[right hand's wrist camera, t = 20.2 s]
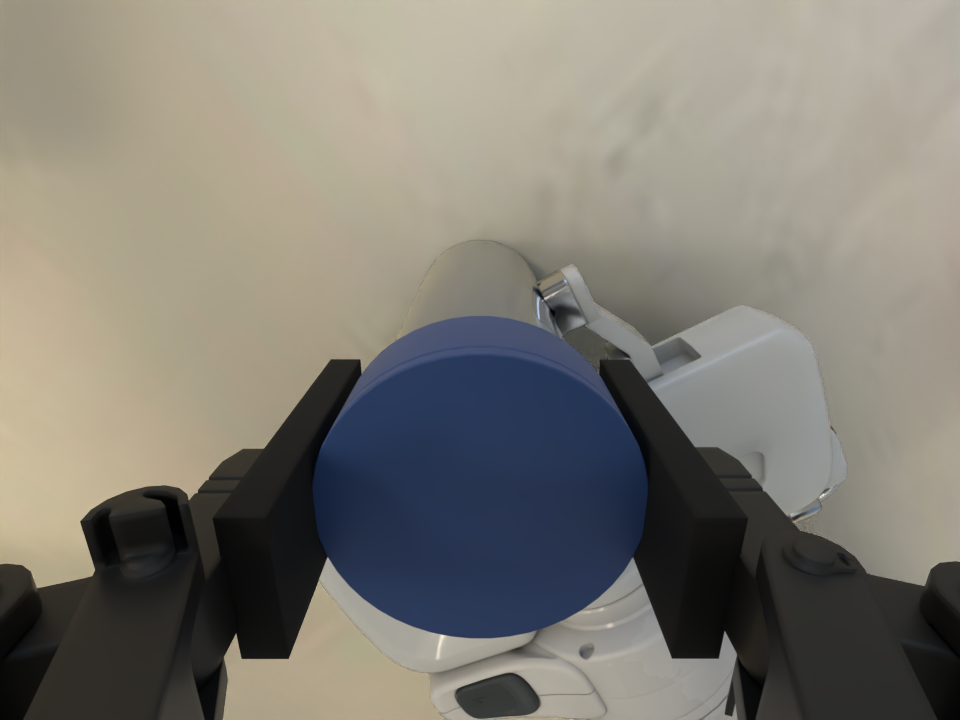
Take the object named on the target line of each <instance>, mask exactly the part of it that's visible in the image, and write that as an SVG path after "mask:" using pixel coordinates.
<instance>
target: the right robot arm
mask: <svg viewBox="0 0 960 720" xmlns="http://www.w3.org/2000/svg"><path fill="white" fill-rule="evenodd" d="M361 375H362V374H361V362H360V359H331V360H330V361H329V363H328V364H327V365H326V367H325V368H324V370H323V371H322V372H321V374H320V375H319V376H318V378H317V379H316V380H315V382H314V383H313V384H312V386H311V387H310V388H309V390H308V391H307V392H306V394H305V395H304V396H303V398H302V399H301V400H300V402H299V403H298V404H297V406H296V407H295V408H294V410H293V411H292V412H291V414H290V415H289V416H288V418H287V419H286V420H285V422H284V423H283V424H282V426H281V427H280V428H279V430H278V431H277V432H276V434H275V435H274V436H273V438H272V439H271V440H270V442H269V443H268V444H267V446H266V447H265V448H264V449H242V450H241V451H239V452H237V453H236V454H234V455H233V456H231V457H229V458H228V459H226V460H224V461H223V462H222V463H221V464H220V465H219V466H218V467H217V469H216V470H215V471H214V472H213V473H212V474H211V476H210V477H209V480H206V481H205V483H204V484H203V485H202V486H201V487H200V488H199V490H198V493H195V494H194V495H193V497H192V498H191V499H190V500H188V496H187V494H186V493H185V492H183V491H182V490H181V489H180V488H176V487H170V486H150V487H144V488H139V489H135V490H131V491H127V492H125V493H122V494H120V495H117V496H115V497H112V498H110V499H108V500H106V501H104V502H103V503H101V504H100V505H98V506H96V507H95V508H93V509H92V510H90V512H89V513H88V514H87V515H86V516H85V517H84V518H83V519H82V520H81V521H80V522H81V526H82V529H83V532H84V535H85V538H86V541H87V545H88V548H89V551H90V554H91V557H92V561H93V564H94V567H95V572H94V574H93V576H92V577H88V578H84V579H80V580H75V581H70V582H65V583H61V584H56V585H51V586H47V587H42V588H37V587H36V585H35V582H34V579H33V577H32V574H31V571H29V570H28V569H26V568H25V567H24V566H22V565H14V564H1V565H0V720H223V713H224V705H225V697H226V689H227V681H228V679H227V671H226V665H225V661H224V655H225V654H226V652H227V650H228V648H229V646H230V644H231V642H232V640H233V638H234V636H235V634H237V638H238V643H239V648H240V653H241V658H242V659H289V656H290V654H291V651H292V649H293V646H294V643H295V641H296V638H297V636H298V633H299V630H300V628H301V625H302V623H303V620H304V617H305V615H306V612H307V609H308V607H309V604H310V602H311V599H312V596H313V594H314V591H315V589H316V586H317V583H318V581H319V578H320V576H321V573H322V570H323V568H324V565H325V563H326V560H327V555H326V553H325V551H324V548H323V546H322V544H321V542H320V540H319V536H318V530H317V523H316V515H315V507H314V500H313V490H312V480H313V474H314V469H315V464H316V461H317V458H318V455H319V452H320V449H321V447H322V444H323V442H324V441H325V439H326V437H327V435H328V433H329V431H330V429H331V428H332V426H333V424H334V422H335V420H336V419H337V417H338V415H339V413H340V411H341V410H342V408H343V406H344V404H345V402H346V401H347V399H348V397H349V395H350V393H351V392H352V390H353V388H354V386H355V384H356V383H357V381H358V379H359V378H360V376H361ZM599 375H600V377H601V378H602V380H603V382H604V383H605V385H606V387H607V389H608V391H609V392H610V394H611V396H612V398H613V400H614V401H615V403H616V405H617V407H618V408H619V410H620V412H621V414H622V416H623V418H624V419H625V421H626V423H627V425H628V426H629V428H630V430H631V432H632V434H633V436H634V438H635V439H636V441H637V443H638V445H639V448H640V450H641V453H642V456H643V459H644V462H645V465H646V471H647V476H648V481H649V488H648V497H647V505H646V513H645V520H644V528H643V534H642V539H641V541H640V543H639V546H638V548H637V550H636V552H635V554H634V556H633V559H634V561H635V564H636V566H637V569H638V572H639V574H640V577H641V579H642V582H643V585H644V587H645V590H646V592H647V595H648V598H649V600H650V603H651V605H652V608H653V611H654V613H655V616H656V618H657V621H658V624H659V626H660V629H661V631H662V634H663V637H664V639H665V642H666V644H667V647H668V650H669V652H670V655H671V658H672V659H719V656H720V651H721V646H722V641H723V636H724V632H726V634H727V636H728V638H729V640H730V642H731V644H732V646H733V648H734V650H735V651H736V653H737V656H736V661H735V665H734V670H733V674H732V679H731V683H730V688H729V692H728V696H727V701H726V707H725V715H728V716H731V717H732V715H733V711H734V707H735V704H736V711H737V719H738V720H960V562H956V561H955V562H945V563H939V564H938V565H936V566H935V567H933V568H932V569H931V571H930V573H929V576H928V579H927V582H926V584H925V586H921V585H916V584H911V583H906V582H902V581H897V580H892V579H888V578H883V577H878V576H874V575H870V574H867V573H866V571H865V569H864V568H863V567H862V565H861V564H860V563H859V561H858V560H857V559H856V558H855V557H854V556H853V555H852V554H850V553H849V552H848V551H846V550H845V549H844V548H842V547H841V546H840V545H837V544H835V543H833V542H831V541H829V540H827V539H825V538H823V537H820V536H817V535H813V534H810V533H806V532H802V531H799V529H798V528H797V527H796V526H795V525H794V524H793V522H792V521H791V520H790V519H789V518H788V517H787V516H786V514H785V513H784V512H783V511H782V510H781V509H780V507H779V506H778V505H777V504H776V503H775V502H774V500H773V499H772V498H771V497H770V496H769V495H768V493H767V492H766V491H763V488H762V486H761V485H760V484H759V483H758V482H757V481H756V480H755V478H752V475H751V474H750V473H749V471H748V470H747V469H746V468H745V467H744V466H743V464H742V463H741V462H740V461H739V460H738V459H736V458H734V457H733V456H731V455H730V454H728V453H726V452H725V451H723V450H721V449H720V448H718V447H695V446H694V445H693V444H692V442H691V441H690V440H689V438H688V437H687V436H686V434H685V433H684V432H683V430H682V429H681V428H680V426H679V425H678V424H677V422H676V421H675V420H674V418H673V417H672V416H671V414H670V413H669V412H668V410H667V409H666V407H665V406H664V405H663V403H662V402H661V401H660V399H659V398H658V397H657V395H656V394H655V393H654V391H653V390H652V389H651V387H650V386H649V385H648V383H647V382H646V381H645V379H644V378H643V377H642V375H641V374H640V373H639V371H638V370H637V369H636V367H635V366H634V365H633V363H632V362H631V361H630V359H600V369H599Z"/></svg>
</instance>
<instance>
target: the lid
mask: <svg viewBox="0 0 960 720" xmlns="http://www.w3.org/2000/svg"><path fill="white" fill-rule="evenodd" d="M648 488H649V481H648V476H647V471H646V465H645V462H644V459H643V456H642V453H641V450H640V448H639V445H638V443H637V441H636V439H635V438H634V436H633V434H632V432H631V430H630V428H629V426H628V425H627V423H626V421H625V419H624V418H623V416H622V414H621V412H620V410H619V408H618V407H617V405H616V403H615V401H614V400H613V398H612V396H611V394H610V392H609V391H608V389H607V387H606V385H605V383H604V382H603V380H602V378H601V377H600V375H599V374H598V373H597V371H596V370H595V369H594V367H593V366H592V365H591V363H590V362H589V361H588V360H587V359H586V358H585V357H584V356H583V355H582V354H581V353H580V352H579V351H577V350H576V349H575V348H573V347H572V346H571V345H570V344H568V343H567V342H566V341H564V340H563V339H561V338H559V337H557V336H556V335H554V334H552V333H550V332H549V331H547V330H544V329H542V328H539V327H537V326H534V325H532V324H529V323H526V322H522V321H518V320H514V319H510V318H503V317H495V316H466V317H458V318H450V319H447V320H443V321H439V322H435V323H431V324H429V325H426V326H424V327H421V328H419V329H416V330H414V331H412V332H410V333H409V334H407V335H405V336H403V337H401V338H400V339H398V340H396V341H395V342H394V343H392V344H391V345H390V346H389V347H387V348H386V349H385V350H383V351H382V352H381V353H380V354H379V355H378V356H377V357H376V358H375V359H374V360H373V361H372V362H371V363H370V364H369V365H368V367H367V368H366V369H365V371H364V372H363V374H362V375H361V376H360V378H359V379H358V381H357V383H356V384H355V386H354V388H353V390H352V392H351V393H350V395H349V397H348V399H347V401H346V402H345V404H344V406H343V408H342V410H341V411H340V413H339V415H338V417H337V419H336V420H335V422H334V424H333V426H332V428H331V429H330V431H329V433H328V435H327V437H326V439H325V441H324V442H323V444H322V447H321V449H320V452H319V455H318V458H317V461H316V464H315V469H314V474H313V480H312V490H313V500H314V507H315V515H316V523H317V530H318V536H319V540H320V542H321V544H322V546H323V548H324V551H325V553H326V555H327V557H328V558H329V560H330V561H331V563H332V565H333V566H334V568H335V569H336V571H337V572H338V573H339V575H340V576H341V577H342V578H343V579H344V580H345V582H346V583H347V584H348V585H349V586H350V587H351V588H352V589H353V590H354V591H355V592H356V593H357V594H358V595H359V596H361V597H362V598H363V599H364V600H366V601H367V602H368V603H370V604H371V605H372V606H374V607H375V608H377V609H378V610H380V611H381V612H383V613H385V614H387V615H388V616H390V617H392V618H394V619H396V620H398V621H400V622H403V623H405V624H407V625H410V626H412V627H415V628H418V629H421V630H425V631H428V632H431V633H436V634H441V635H446V636H451V637H461V638H500V637H510V636H515V635H520V634H525V633H530V632H533V631H536V630H539V629H543V628H546V627H549V626H551V625H553V624H556V623H558V622H560V621H563V620H565V619H567V618H569V617H571V616H572V615H574V614H576V613H578V612H579V611H581V610H583V609H584V608H586V607H587V606H588V605H590V604H591V603H593V602H594V601H595V600H597V599H598V598H599V597H600V596H601V595H602V594H603V593H605V592H606V591H607V590H608V589H609V588H610V587H611V586H612V585H613V584H614V583H615V581H616V580H617V579H618V578H619V577H620V575H621V574H622V573H623V572H624V570H625V569H626V567H627V566H628V564H629V563H630V561H631V559H632V558H633V556H634V554H635V552H636V550H637V548H638V546H639V543H640V541H641V539H642V534H643V528H644V520H645V513H646V505H647V497H648Z"/></svg>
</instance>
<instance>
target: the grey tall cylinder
mask: <svg viewBox="0 0 960 720" xmlns="http://www.w3.org/2000/svg"><path fill="white" fill-rule="evenodd" d="M536 282H537V279H536V277H535V275H534V273H533V271H532V269H531V268H530V266H529V265H528V263H527V262H526V261H525V260H524V259H523V258H522V256H520V255H519V254H518V253H517V252H516V251H514V250H513V249H511V248H509V247H508V246H505V245H503V244H501V243H497V242H494V241H488V240H473V241H467V242H463V243H460V244H458V245H455V246H453V247H451V248H450V249H448V250H446V251H445V252H444V253H442V254H441V255H440V256H439V257H438V258H437V259H436V260H435V262H434V263H433V264H432V265H431V267H430V269H429V271H428V272H427V274H426V276H425V279H424V281H423V283H422V285H421V287H420V289H419V291H418V293H417V296H416V298H415V300H414V302H413V304H412V306H411V308H410V310H409V312H408V315H407V317H406V319H405V321H404V323H403V325H402V327H401V329H400V332H399V334H398V336H397V338H396V340H398V339H400V338H401V337H403V336H405V335H407V334H409V333H410V332H412V331H414V330H416V329H419V328H421V327H424V326H426V325H429V324H431V323H435V322H439V321H443V320H447V319H450V318H458V317H466V316H495V317H503V318H510V319H514V320H518V321H522V322H526V323H529V324H532V325H534V326H537V327H539V328H542V329H544V330H547V331H549V332H550V333H552V334H554V335H556V336H557V337H559V338H561V339H563V340H564V341H565V339H564V337H563V335H562V332H561V330H560V328H559V326H558V324H557V322H556V320H555V318H554V315H553V313H552V311H551V309H550V308H549V306H548V305H547V304H546V302H545V300H544V298H543V296H542V294H541V292H540V290H539V288H538V286H537V284H536ZM396 340H395V341H396Z"/></svg>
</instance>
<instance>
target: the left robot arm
mask: <svg viewBox="0 0 960 720" xmlns="http://www.w3.org/2000/svg"><path fill="white" fill-rule="evenodd" d="M536 284H537V286H538V288H539V290H540V292H541V294H542V296H543V298H544V300H545V302H546V304H547V305H548V306H549V308H550V309H551V311H552V313H553V315H554V318H555V320H556V322H557V324H558V326H559V328H560V330H561V332H562V335H564V334H566V333H568V332H570V331H572V330H574V329H576V328H579V327H581V326H583V325H584V326H585V327H586V328H588V329H589V330H591V331H592V332H594V333H596V334H597V335H599V336H600V337H602V338H603V339H605V340H606V341H608V342H606V343H604V345H603V348H604V350H605V353H606V355H607V357H608V359H630V361H631V362H632V363H633V365H634V366H635V367H636V369H637V370H638V371H639V373H640V374H641V375H642V377H643V378H644V379H645V381H646V382H647V383H648V385H649V386H650V387H651V389H652V390H653V391H654V393H655V394H656V395H657V397H658V398H659V399H660V401H661V402H662V403H663V405H664V406H665V407H666V409H667V410H668V412H669V413H670V414H671V416H672V417H673V418H674V420H675V421H676V422H677V424H678V425H679V426H680V428H681V429H682V430H683V432H684V433H685V434H686V436H687V437H688V438H689V440H690V441H691V442H692V444H693V445H694V446H695V447H718V448H720V449H721V450H723V451H725V452H726V453H728V454H730V455H731V456H733V457H734V458H736V459H738V460H739V461H740V462H741V463H742V464H743V466H744V467H745V468H746V469H747V470H748V471H749V473H750V474H751V475H752V478H755V480H756V481H757V482H758V483H759V484H760V485H761V486H762V488H763V491H766V492H767V493H768V495H769V496H770V497H771V498H772V499H773V500H774V502H775V503H776V504H777V505H778V506H779V507H780V509H781V510H782V511H783V512H784V513H785V514H786V516H787V517H788V518H789V519H790V520H791V521H792V522H793V524H794V523H797V522H801V521H803V520H806V519H808V518H810V517H812V516H813V515H815V514H817V513H818V512H819V511H820V510H822V505H821V503H820V502H821V501H823V500H824V499H826V498H827V497H829V496H830V495H831V494H832V493H833V492H834V491H835V490H836V488H837V487H838V486H839V484H840V483H842V482H843V481H844V480H845V479H846V476H847V463H846V460H845V457H844V454H843V451H842V448H841V445H840V442H839V439H838V437H837V434H836V432H835V431H834V429H833V427H832V426H831V425H830V419H829V412H828V406H827V400H826V394H825V389H824V385H823V380H822V376H821V372H820V368H819V364H818V360H817V356H816V353H815V350H814V348H813V345H812V343H811V342H810V340H809V339H808V338H807V336H806V335H804V334H803V333H802V332H801V331H800V330H798V329H797V328H796V327H794V326H793V325H791V324H789V323H788V322H786V321H784V320H782V319H780V318H778V317H776V316H774V315H771V314H769V313H766V312H764V311H761V310H758V309H755V308H752V307H750V306H745V305H740V306H736V307H733V308H730V309H728V310H726V311H724V312H722V313H720V314H718V315H716V316H714V317H711V318H709V319H707V320H705V321H703V322H701V323H699V324H697V325H695V326H693V327H691V328H688V329H686V330H684V331H682V332H680V333H678V334H676V335H674V336H672V337H670V338H667V339H665V340H663V341H661V342H659V343H657V344H655V345H653V346H651V345H650V344H649V343H648V342H647V341H646V340H645V339H644V338H643V336H642V335H641V334H640V333H639V332H638V331H637V330H636V329H635V328H634V327H633V326H631V325H629V324H628V323H626V322H625V321H623V320H621V319H620V318H618V317H617V316H615V315H614V314H612V313H610V312H609V311H607V310H606V309H604V308H602V307H601V306H599V305H598V304H596V303H594V301H593V299H592V296H591V294H590V292H589V290H588V288H587V286H586V284H585V282H584V279H583V278H582V276H581V274H580V273H579V271H578V269H577V268H576V267H575V266H574V265H573V263H571V264H569V265H568V266H566V267H564V268H562V269H560V270H558V271H556V272H554V273H552V274H550V275H548V276H547V277H545V278H543V279H541V280H539V281H537V282H536ZM597 373H598V374H599V371H598V372H597ZM319 582H320V583H321V584H322V586H323V587H324V589H325V590H326V591H327V593H328V594H329V595H330V596H331V598H332V599H333V600H334V601H335V603H336V604H337V605H338V606H339V608H340V609H341V610H342V611H343V612H344V613H345V614H346V616H347V617H348V618H349V619H350V620H351V621H352V622H353V624H354V625H355V626H356V627H357V628H358V629H359V630H360V631H361V632H362V633H363V634H364V635H365V636H366V637H367V638H368V640H369V641H370V642H371V643H372V644H373V645H374V646H375V647H376V648H377V649H379V650H380V651H381V652H382V653H383V654H384V655H385V656H386V657H388V658H389V659H390V660H392V661H393V662H395V663H396V664H398V665H400V666H402V667H404V668H406V669H409V670H412V671H416V672H421V673H429V689H430V700H431V702H432V704H433V706H434V707H435V709H436V710H437V711H438V713H439V714H440V715H441V716H442V717H444V718H445V719H446V720H494V719H504V718H518V717H558V718H569V719H586V720H738V719H737V711H736V704H735V707H734V711H733V715H732V717H731V716H728V715H725V707H726V701H727V696H728V692H729V688H730V683H731V679H732V674H733V670H734V665H735V661H736V656H737V653H736V651H735V650H734V648H733V646H732V644H731V642H730V640H729V638H728V636H727V634H726V632H724V636H723V641H722V646H721V651H720V656H719V659H672V658H671V655H670V652H669V650H668V647H667V644H666V642H665V639H664V637H663V634H662V631H661V629H660V626H659V624H658V621H657V618H656V616H655V613H654V611H653V608H652V605H651V603H650V600H649V598H648V595H647V592H646V590H645V587H644V585H643V582H642V579H641V577H640V574H639V572H638V569H637V566H636V564H635V561H634V559H633V558H632V559H631V561H630V563H629V564H628V566H627V567H626V569H625V570H624V572H623V573H622V574H621V575H620V577H619V578H618V579H617V580H616V581H615V583H614V584H613V585H612V586H611V587H610V588H609V589H608V590H607V591H606V592H605V593H603V594H602V595H601V596H600V597H599V598H598V599H597V600H595V601H594V602H593V603H591V604H590V605H588V606H587V607H586V608H584V609H583V610H581V611H579V612H578V613H576V614H574V615H572V616H571V617H569V618H567V619H565V620H563V621H560V622H558V623H556V624H553V625H551V626H549V627H546V628H543V629H539V630H536V631H533V632H530V633H525V634H520V635H515V636H510V637H500V638H461V637H451V636H446V635H441V634H436V633H431V632H428V631H425V630H421V629H418V628H415V627H412V626H410V625H407V624H405V623H403V622H400V621H398V620H396V619H394V618H392V617H390V616H388V615H387V614H385V613H383V612H381V611H380V610H378V609H377V608H375V607H374V606H372V605H371V604H370V603H368V602H367V601H366V600H364V599H363V598H362V597H361V596H359V595H358V594H357V593H356V592H355V591H354V590H353V589H352V588H351V587H350V586H349V585H348V584H347V583H346V582H345V580H344V579H343V578H342V577H341V576H340V575H339V573H338V572H337V571H336V569H335V568H334V566H333V565H332V563H331V561H330V560H329V558H328V557H327V560H326V563H325V565H324V568H323V570H322V573H321V576H320V578H319Z"/></svg>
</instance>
